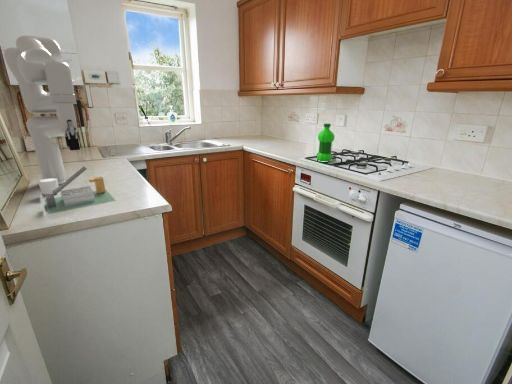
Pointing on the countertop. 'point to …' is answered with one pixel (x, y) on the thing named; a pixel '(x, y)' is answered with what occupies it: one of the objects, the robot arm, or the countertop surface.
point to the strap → (69, 180)
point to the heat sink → (72, 197)
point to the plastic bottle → (325, 144)
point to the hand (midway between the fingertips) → (73, 148)
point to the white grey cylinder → (48, 185)
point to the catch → (98, 184)
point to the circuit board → (99, 199)
